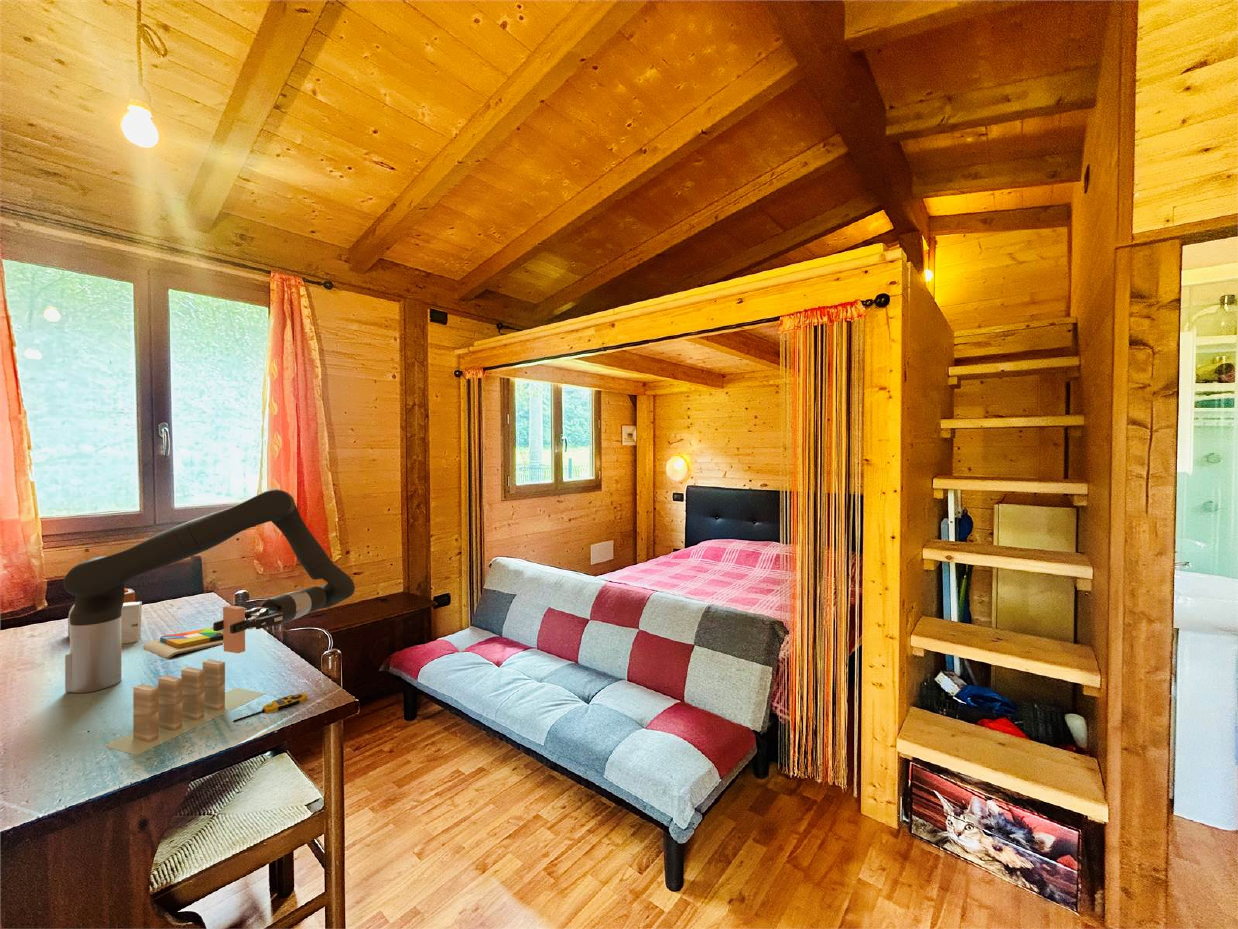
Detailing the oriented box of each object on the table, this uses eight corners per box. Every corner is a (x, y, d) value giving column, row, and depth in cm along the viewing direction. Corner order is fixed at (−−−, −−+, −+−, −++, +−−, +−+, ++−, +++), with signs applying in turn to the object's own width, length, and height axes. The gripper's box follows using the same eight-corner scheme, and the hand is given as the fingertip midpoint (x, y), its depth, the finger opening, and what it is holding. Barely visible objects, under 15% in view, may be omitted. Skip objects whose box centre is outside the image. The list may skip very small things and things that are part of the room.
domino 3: (196, 720, 112) (197, 672, 112) (181, 717, 113) (181, 669, 113) (204, 717, 114) (204, 669, 113) (188, 713, 115) (189, 666, 115)
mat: (136, 757, 99) (136, 755, 99) (103, 748, 102) (103, 746, 102) (265, 695, 125) (265, 693, 125) (236, 689, 128) (236, 687, 128)
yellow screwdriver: (310, 695, 122) (236, 720, 110) (310, 703, 122) (236, 728, 110) (302, 689, 125) (229, 713, 113) (302, 697, 125) (229, 721, 113)
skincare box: (111, 645, 154) (111, 607, 154) (115, 641, 158) (115, 603, 158) (138, 641, 158) (138, 604, 158) (142, 637, 162) (142, 600, 161)
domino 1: (149, 742, 103) (149, 690, 103) (133, 738, 105) (133, 687, 105) (158, 738, 105) (158, 687, 105) (142, 734, 106) (142, 684, 106)
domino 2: (174, 731, 108) (174, 681, 108) (158, 727, 109) (158, 678, 109) (182, 727, 109) (182, 678, 109) (166, 723, 111) (166, 675, 110)
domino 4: (217, 710, 116) (217, 664, 116) (202, 707, 118) (202, 662, 118) (224, 707, 118) (225, 662, 118) (209, 704, 119) (209, 659, 119)
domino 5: (238, 653, 121) (238, 609, 120) (223, 651, 122) (222, 607, 122) (245, 651, 122) (244, 607, 122) (230, 648, 124) (229, 605, 123)
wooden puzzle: (240, 640, 162) (240, 630, 162) (167, 661, 145) (167, 649, 145) (213, 631, 170) (213, 621, 170) (141, 650, 153) (141, 638, 153)
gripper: (267, 591, 138) (200, 610, 121) (307, 596, 134) (244, 616, 117) (267, 618, 138) (201, 640, 121) (307, 623, 134) (245, 647, 117)
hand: (223, 628), depth 119 cm, fingers closed on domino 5, 5 cm apart
